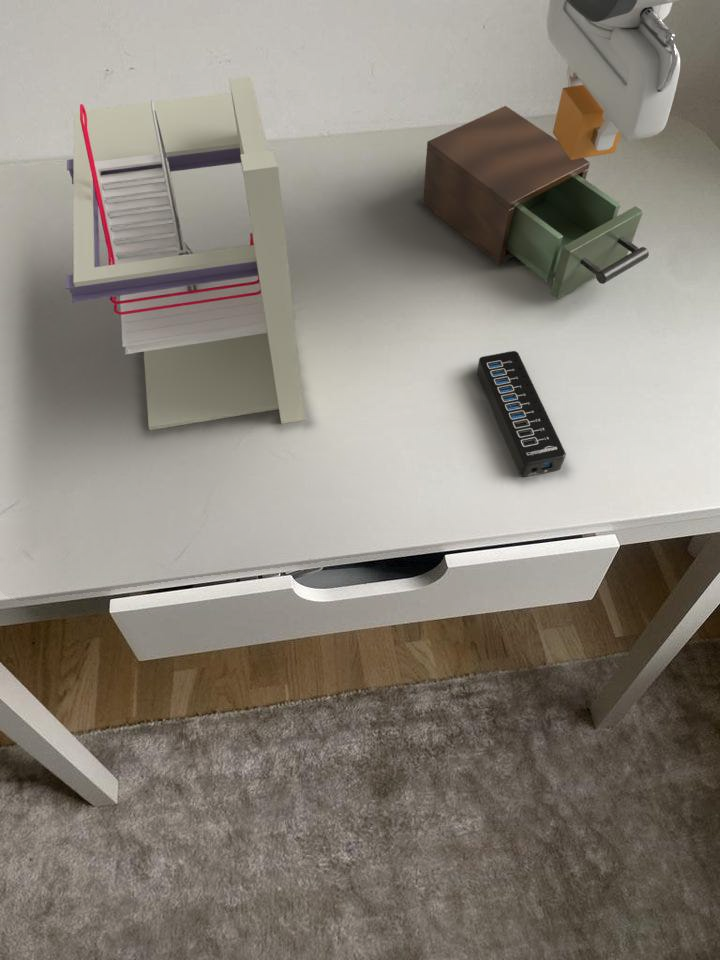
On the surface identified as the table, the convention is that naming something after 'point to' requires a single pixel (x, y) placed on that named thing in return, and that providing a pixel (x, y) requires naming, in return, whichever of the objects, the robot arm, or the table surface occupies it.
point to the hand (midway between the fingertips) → (587, 128)
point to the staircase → (188, 258)
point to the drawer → (574, 235)
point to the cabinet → (492, 175)
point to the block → (579, 123)
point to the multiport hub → (520, 414)
